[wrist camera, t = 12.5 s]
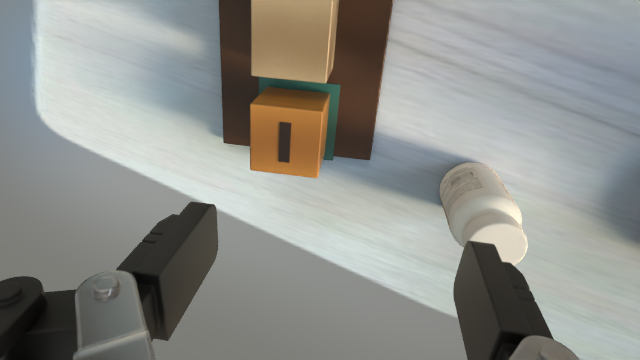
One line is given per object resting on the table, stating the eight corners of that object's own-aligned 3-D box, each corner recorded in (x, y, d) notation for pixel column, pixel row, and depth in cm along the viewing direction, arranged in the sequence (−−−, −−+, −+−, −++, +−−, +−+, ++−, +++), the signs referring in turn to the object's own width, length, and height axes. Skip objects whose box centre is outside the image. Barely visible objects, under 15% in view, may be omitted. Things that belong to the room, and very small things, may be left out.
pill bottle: (430, 204, 31) (446, 267, 24) (451, 154, 29) (475, 207, 22) (484, 218, 31) (516, 286, 24) (509, 169, 29) (551, 227, 22)
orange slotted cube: (266, 86, 28) (249, 104, 24) (330, 92, 27) (323, 112, 24) (266, 145, 30) (249, 171, 26) (324, 152, 29) (317, 179, 25)
